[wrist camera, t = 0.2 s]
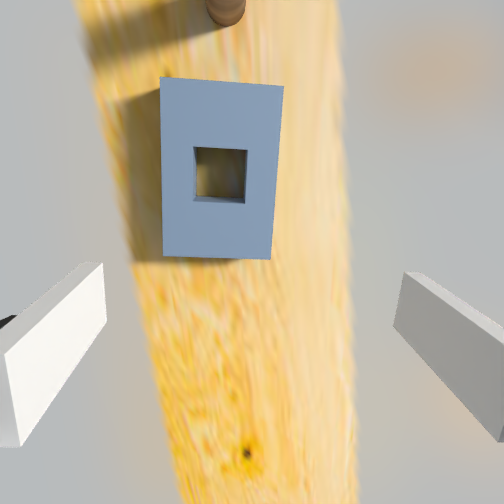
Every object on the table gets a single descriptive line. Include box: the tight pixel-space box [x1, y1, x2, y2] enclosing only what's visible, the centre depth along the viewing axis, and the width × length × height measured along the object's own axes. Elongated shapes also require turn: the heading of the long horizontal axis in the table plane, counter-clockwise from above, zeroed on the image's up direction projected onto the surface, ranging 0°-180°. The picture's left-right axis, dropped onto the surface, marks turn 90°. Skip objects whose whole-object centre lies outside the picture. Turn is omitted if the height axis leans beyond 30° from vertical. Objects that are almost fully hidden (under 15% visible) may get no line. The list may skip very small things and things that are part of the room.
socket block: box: [160, 77, 284, 260], centre depth 38 cm, size 18×12×4 cm, turn 177°
